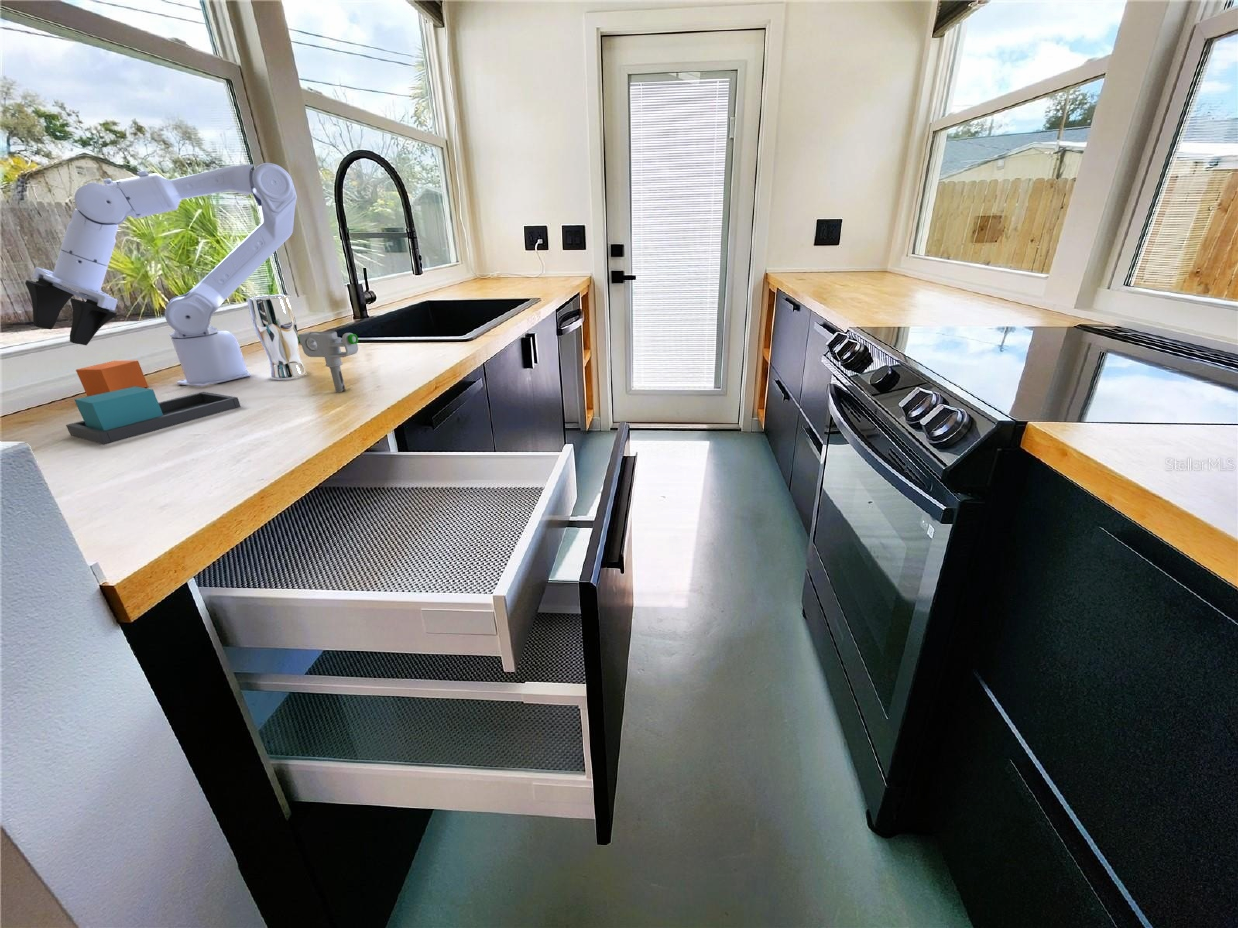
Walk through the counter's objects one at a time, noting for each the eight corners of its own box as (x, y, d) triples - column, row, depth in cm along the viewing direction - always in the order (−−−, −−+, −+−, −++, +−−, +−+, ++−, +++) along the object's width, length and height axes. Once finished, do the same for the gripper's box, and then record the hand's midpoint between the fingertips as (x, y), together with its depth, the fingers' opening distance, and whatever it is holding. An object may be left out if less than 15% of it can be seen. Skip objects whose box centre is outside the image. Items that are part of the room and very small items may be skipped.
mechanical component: (361, 394, 90) (347, 334, 86) (309, 393, 92) (293, 334, 88) (372, 389, 93) (359, 331, 89) (321, 388, 95) (306, 331, 91)
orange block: (125, 386, 101) (114, 360, 99) (148, 386, 101) (138, 360, 99) (87, 397, 95) (75, 369, 93) (112, 397, 94) (100, 369, 92)
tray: (207, 403, 89) (203, 391, 88) (242, 409, 85) (237, 397, 84) (71, 438, 74) (65, 424, 74) (105, 447, 70) (99, 433, 69)
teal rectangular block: (148, 418, 80) (135, 386, 78) (166, 422, 78) (153, 389, 76) (89, 434, 74) (73, 399, 72) (107, 438, 72) (91, 403, 70)
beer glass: (267, 382, 100) (242, 299, 94) (270, 375, 106) (247, 296, 100) (309, 377, 103) (287, 296, 97) (310, 370, 109) (289, 293, 103)
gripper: (20, 233, 85) (-5, 314, 86) (92, 264, 83) (66, 346, 84) (71, 250, 92) (48, 324, 93) (139, 278, 90) (114, 354, 91)
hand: (60, 335), depth 89 cm, fingers open, 7 cm apart
